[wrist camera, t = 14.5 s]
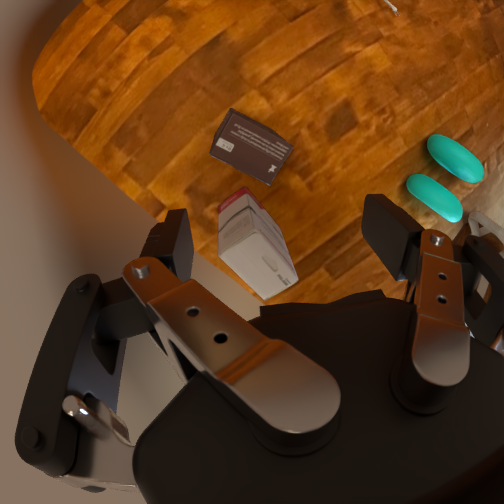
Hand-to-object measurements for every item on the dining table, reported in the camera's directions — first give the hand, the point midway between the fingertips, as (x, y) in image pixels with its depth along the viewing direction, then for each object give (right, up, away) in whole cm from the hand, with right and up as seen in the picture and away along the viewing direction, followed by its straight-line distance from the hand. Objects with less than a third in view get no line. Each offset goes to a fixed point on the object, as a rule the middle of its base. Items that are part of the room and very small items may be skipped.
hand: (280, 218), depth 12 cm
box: (-2, +13, +20) cm, 24 cm away
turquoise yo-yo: (+26, +12, +24) cm, 37 cm away
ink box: (-2, +3, +27) cm, 27 cm away
